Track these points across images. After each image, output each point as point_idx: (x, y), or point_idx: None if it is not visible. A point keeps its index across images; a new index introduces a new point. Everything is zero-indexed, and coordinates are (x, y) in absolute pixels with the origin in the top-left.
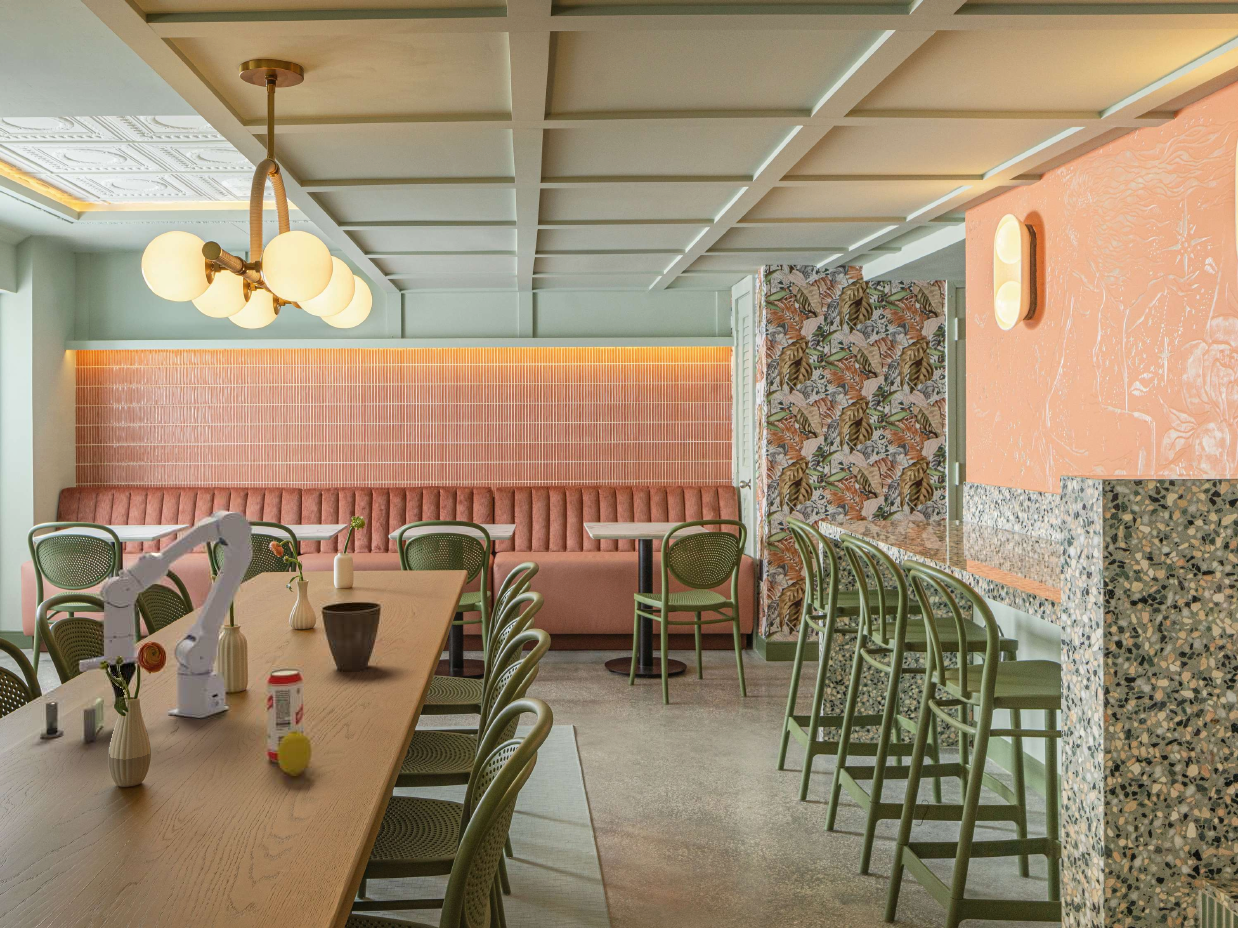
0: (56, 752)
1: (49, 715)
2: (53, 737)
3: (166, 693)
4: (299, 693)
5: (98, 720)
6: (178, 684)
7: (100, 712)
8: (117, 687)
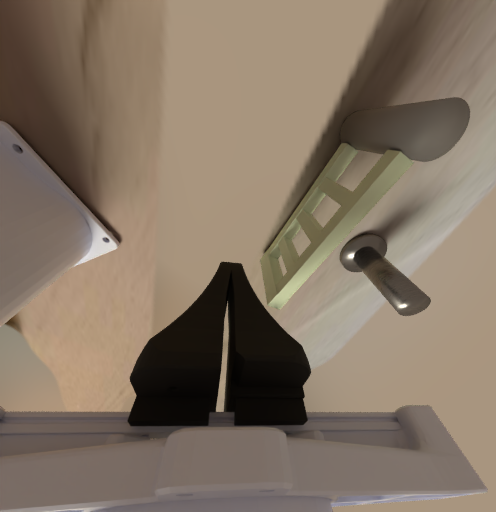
0: (478, 75)
1: (404, 275)
2: (372, 234)
3: (122, 357)
4: None
5: (302, 219)
6: (10, 273)
7: (288, 251)
8: (247, 294)
